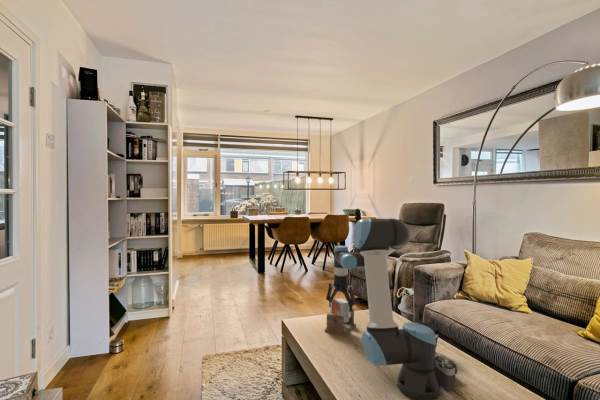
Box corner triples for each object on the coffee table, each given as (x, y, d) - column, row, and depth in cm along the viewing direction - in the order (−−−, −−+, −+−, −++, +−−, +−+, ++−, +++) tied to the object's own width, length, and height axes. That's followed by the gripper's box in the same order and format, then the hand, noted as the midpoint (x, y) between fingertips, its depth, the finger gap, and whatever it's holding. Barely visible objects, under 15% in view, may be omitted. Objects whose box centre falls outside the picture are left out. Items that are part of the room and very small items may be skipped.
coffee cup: (442, 359, 141) (442, 332, 141) (416, 357, 143) (416, 330, 143) (436, 348, 152) (437, 323, 152) (412, 345, 154) (413, 321, 154)
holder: (342, 337, 163) (343, 319, 163) (324, 332, 169) (324, 314, 169) (356, 325, 178) (356, 309, 178) (338, 321, 184) (338, 305, 184)
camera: (469, 389, 120) (469, 362, 120) (446, 393, 117) (447, 366, 117) (441, 367, 135) (441, 343, 135) (420, 370, 132) (420, 346, 132)
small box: (332, 318, 176) (332, 299, 176) (341, 316, 178) (341, 298, 178) (340, 323, 169) (340, 303, 169) (349, 321, 171) (349, 302, 171)
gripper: (362, 275, 170) (362, 317, 171) (326, 270, 182) (325, 309, 183) (357, 278, 164) (357, 322, 164) (319, 273, 176) (319, 313, 176)
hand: (340, 315), depth 173 cm, fingers closed on small box, 9 cm apart
